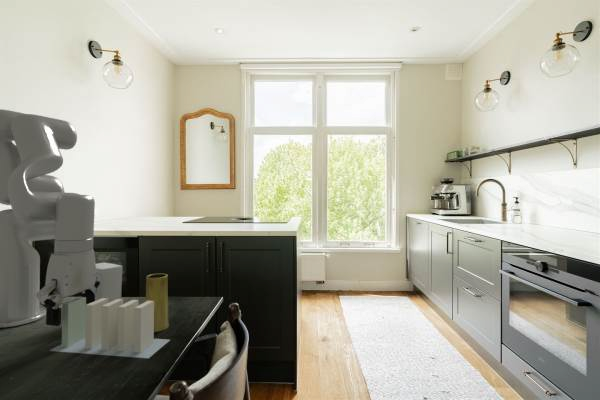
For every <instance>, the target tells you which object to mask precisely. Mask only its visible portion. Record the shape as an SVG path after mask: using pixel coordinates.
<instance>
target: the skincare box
mask: <svg viewBox="0 0 600 400" xmlns="http://www.w3.org/2000/svg"><path fill="white" fill-rule="evenodd" d="M96 272H99V273H102V277H101V280H100V281H99V282H100V285H99V286H98V288H97V293H95V301H97V300H99V299H101V298H108V303H109V302H112V301H114V300H116V299H122V288H123V287H122V284H123V280H122V279H123V265H120V264H117V263H116V264H115V263H109V262H99V263H96ZM82 293H85V292H84V291H82Z"/></svg>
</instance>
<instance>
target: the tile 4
mask: <svg viewBox="0 0 600 400" xmlns="http://www.w3.org/2000/svg"><path fill="white" fill-rule="evenodd" d="M139 301H140V300H139V299H131V300H129V301H128V302H125V303H123V305H121V306H119V307H118V347H117V351H125V350H127V349H128V348H130V347H131V346H132V345H134V308H135V307H137V306H139V305H140V304H139Z"/></svg>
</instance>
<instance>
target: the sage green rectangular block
mask: <svg viewBox="0 0 600 400" xmlns="http://www.w3.org/2000/svg"><path fill="white" fill-rule="evenodd" d="M61 304H62V305H61V309H62V311H61V344H62V347H69V346H71V345H73V344H75V343H77V342H79V341H80V340H82V339H84V338H85V330H86V297H82V296H79V297H76V298H74V299H71V300H68V301H66V302H62V303H61Z"/></svg>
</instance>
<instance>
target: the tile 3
mask: <svg viewBox="0 0 600 400" xmlns="http://www.w3.org/2000/svg"><path fill="white" fill-rule="evenodd" d="M123 304H124V299H123V298H121V299H116V300H114V301H112V302H109V303H107V304H105V305H103V306H102V330H101V350H109V349H110V348H112V347H113V346H115V345H117V344H118V307H119V306H121V305H123Z"/></svg>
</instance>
